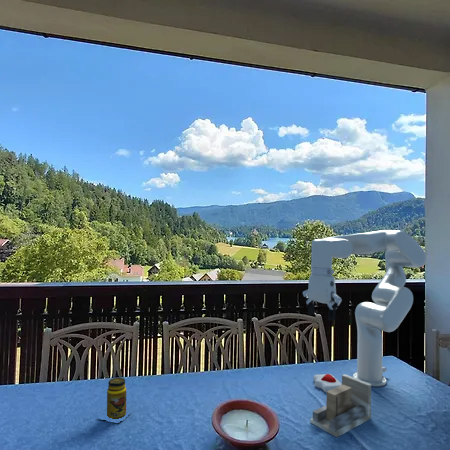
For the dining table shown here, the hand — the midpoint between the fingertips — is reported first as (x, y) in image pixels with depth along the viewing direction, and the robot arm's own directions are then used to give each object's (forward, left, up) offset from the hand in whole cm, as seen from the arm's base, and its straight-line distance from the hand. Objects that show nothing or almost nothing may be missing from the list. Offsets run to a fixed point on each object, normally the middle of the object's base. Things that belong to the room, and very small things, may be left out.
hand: (321, 317), depth 138 cm
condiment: (+69, -28, -28) cm, 80 cm away
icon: (-6, -2, -29) cm, 30 cm away
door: (+12, +17, -27) cm, 34 cm away
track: (+11, +17, -28) cm, 35 cm away
